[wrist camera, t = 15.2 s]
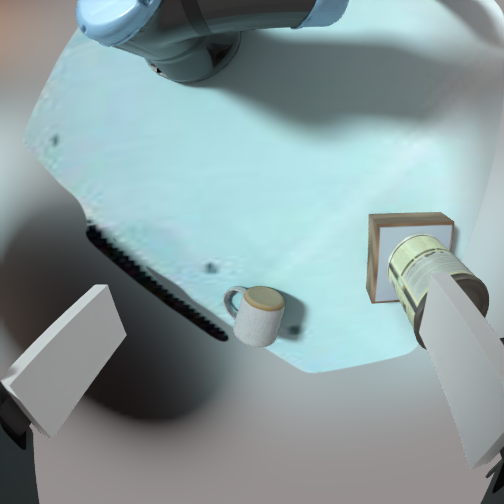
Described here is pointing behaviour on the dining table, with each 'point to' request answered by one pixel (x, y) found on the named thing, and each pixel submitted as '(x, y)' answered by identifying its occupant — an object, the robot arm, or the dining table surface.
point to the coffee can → (428, 276)
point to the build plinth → (389, 235)
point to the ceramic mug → (256, 315)
